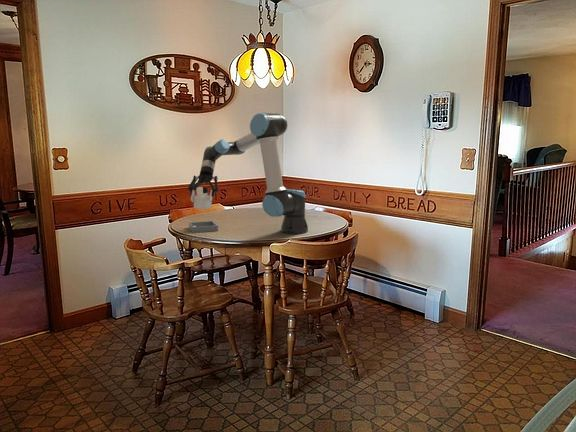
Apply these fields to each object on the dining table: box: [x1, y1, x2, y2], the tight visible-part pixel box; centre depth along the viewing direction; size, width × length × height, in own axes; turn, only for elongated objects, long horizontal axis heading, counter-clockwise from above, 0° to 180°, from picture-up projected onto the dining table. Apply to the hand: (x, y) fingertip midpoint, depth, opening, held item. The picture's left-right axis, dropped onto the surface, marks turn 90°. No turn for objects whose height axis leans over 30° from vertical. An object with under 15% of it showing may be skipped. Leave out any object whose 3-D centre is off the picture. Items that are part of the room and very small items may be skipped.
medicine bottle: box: [193, 186, 213, 211], centre depth 252 cm, size 7×7×12 cm
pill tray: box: [188, 220, 219, 234], centre depth 255 cm, size 14×14×3 cm
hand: (200, 200), depth 250 cm, fingers closed on medicine bottle, 10 cm apart
